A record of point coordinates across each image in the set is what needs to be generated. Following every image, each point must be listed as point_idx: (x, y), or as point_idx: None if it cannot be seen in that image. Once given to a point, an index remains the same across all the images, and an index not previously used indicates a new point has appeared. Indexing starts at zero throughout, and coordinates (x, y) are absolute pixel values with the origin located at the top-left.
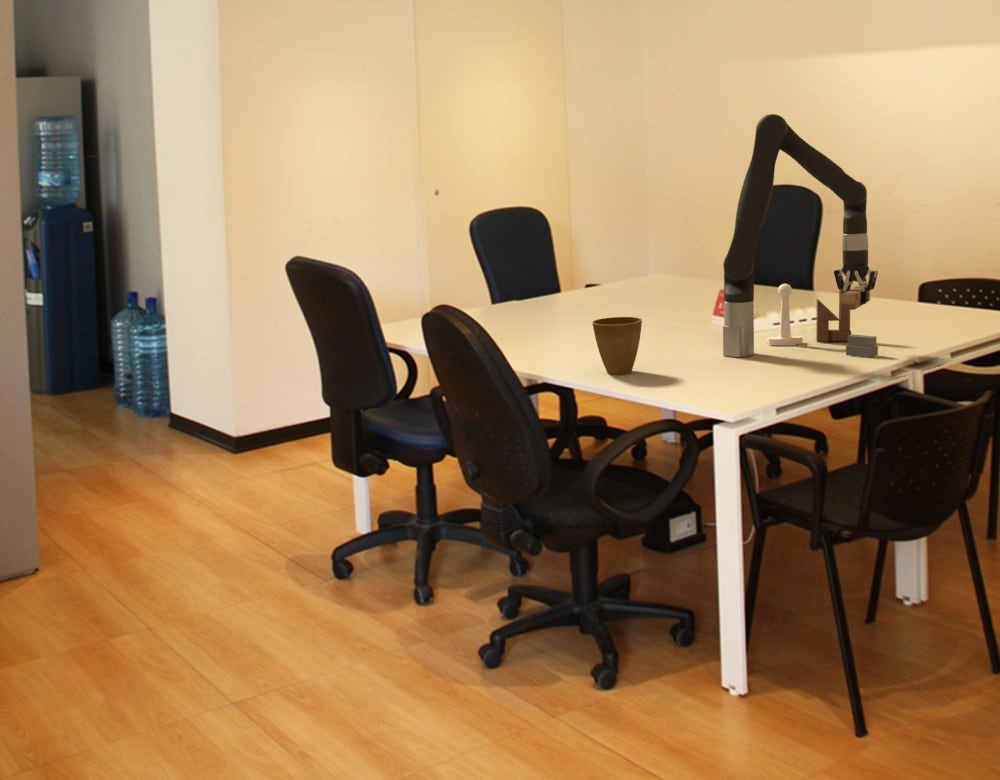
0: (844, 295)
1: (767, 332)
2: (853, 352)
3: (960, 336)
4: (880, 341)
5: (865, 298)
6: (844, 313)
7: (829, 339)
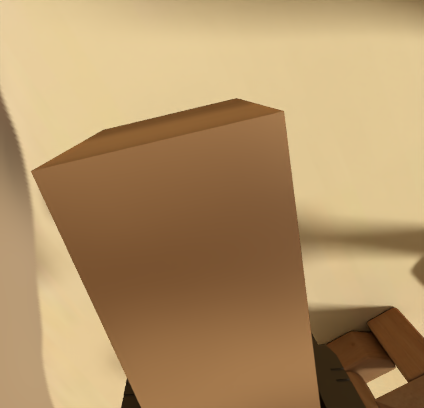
0: (211, 126)
1: None
2: None
3: None
4: None
5: (127, 389)
6: None
7: (370, 336)
